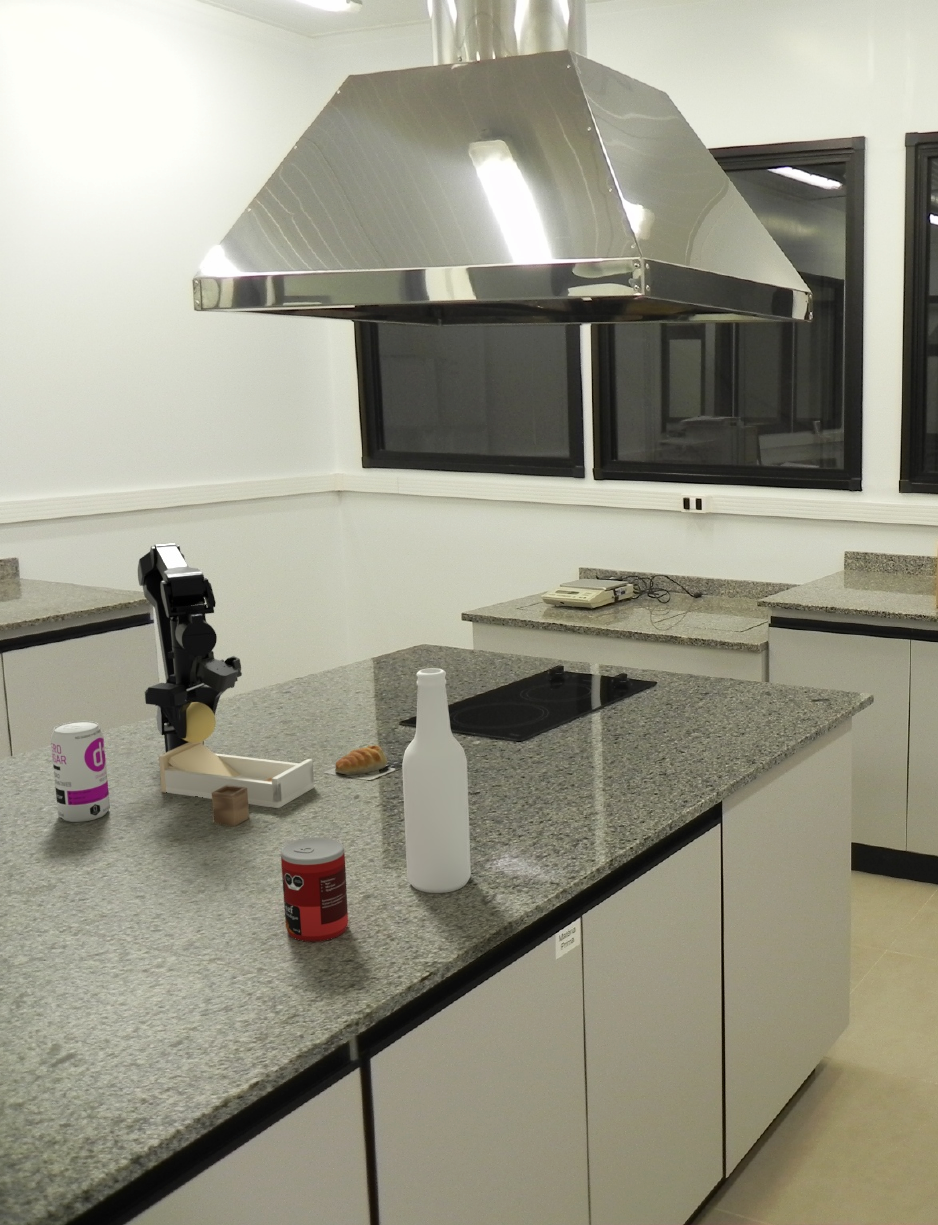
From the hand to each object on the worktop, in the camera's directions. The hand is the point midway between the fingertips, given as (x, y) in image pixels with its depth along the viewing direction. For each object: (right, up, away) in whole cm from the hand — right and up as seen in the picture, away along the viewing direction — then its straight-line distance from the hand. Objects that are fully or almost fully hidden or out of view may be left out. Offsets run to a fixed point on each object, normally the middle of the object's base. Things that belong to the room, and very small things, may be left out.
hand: (196, 732), depth 212 cm
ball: (0, +2, 0) cm, 2 cm away
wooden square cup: (+9, -13, -16) cm, 23 cm away
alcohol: (+43, -17, -43) cm, 63 cm away
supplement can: (-16, -13, -11) cm, 23 cm away
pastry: (+28, -8, +8) cm, 30 cm away
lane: (+8, -10, -2) cm, 13 cm away
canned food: (+28, -20, -56) cm, 66 cm away
